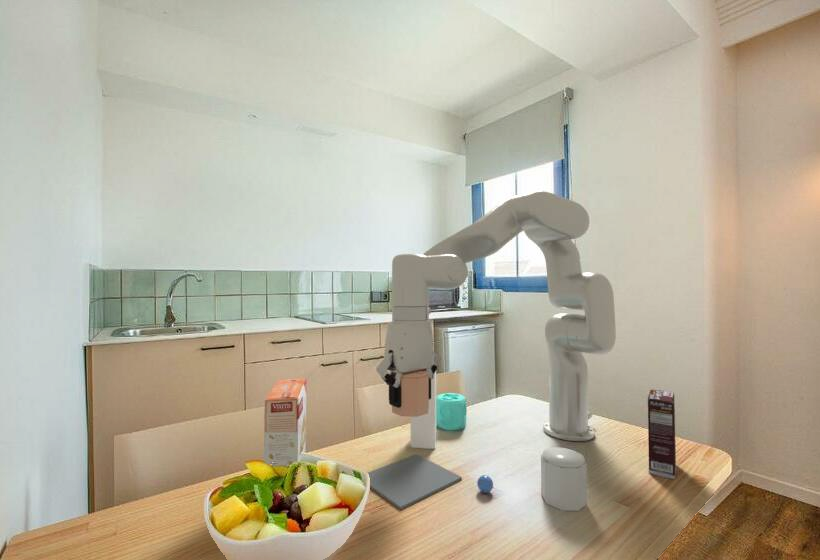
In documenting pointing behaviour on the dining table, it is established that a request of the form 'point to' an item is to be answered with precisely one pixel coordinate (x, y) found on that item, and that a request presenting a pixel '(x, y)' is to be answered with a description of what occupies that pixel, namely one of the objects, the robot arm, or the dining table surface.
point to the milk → (425, 424)
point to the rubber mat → (410, 480)
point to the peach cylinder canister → (413, 394)
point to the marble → (485, 483)
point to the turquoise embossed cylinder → (451, 411)
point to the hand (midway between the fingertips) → (410, 401)
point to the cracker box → (285, 422)
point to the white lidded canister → (564, 479)
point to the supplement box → (661, 433)
